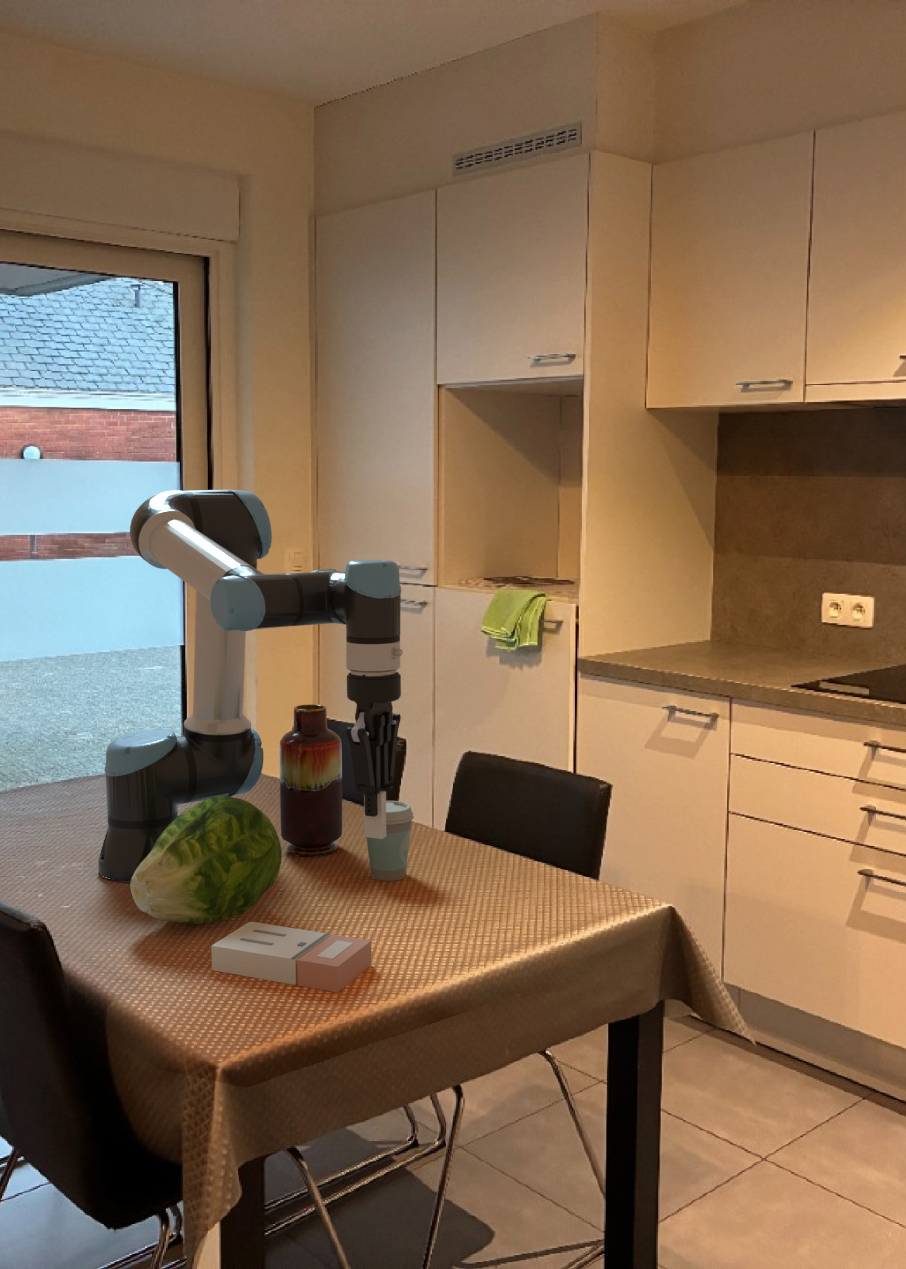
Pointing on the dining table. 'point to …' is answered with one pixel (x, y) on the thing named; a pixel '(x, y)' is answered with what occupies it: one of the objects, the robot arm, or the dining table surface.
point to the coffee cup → (391, 844)
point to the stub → (334, 963)
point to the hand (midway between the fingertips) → (375, 836)
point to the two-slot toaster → (264, 951)
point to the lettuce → (209, 863)
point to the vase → (311, 784)
